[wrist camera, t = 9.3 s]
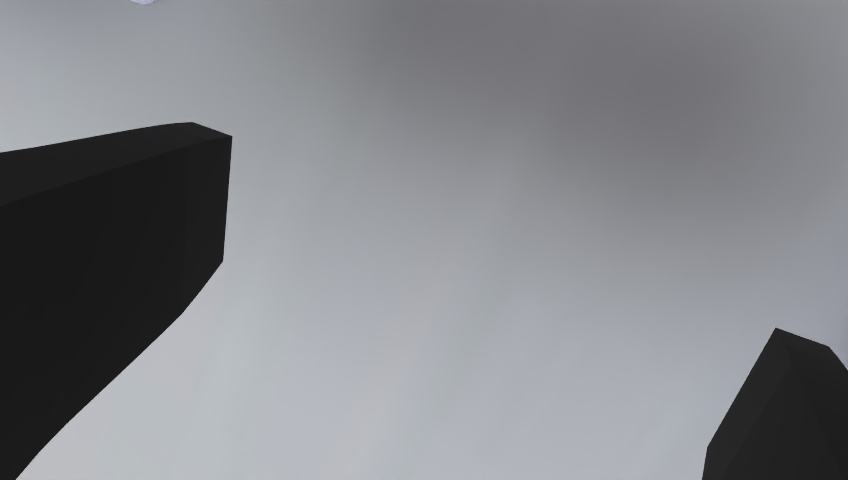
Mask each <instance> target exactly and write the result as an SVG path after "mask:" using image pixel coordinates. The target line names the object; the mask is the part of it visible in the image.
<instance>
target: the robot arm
mask: <svg viewBox="0 0 848 480" xmlns="http://www.w3.org/2000/svg"><path fill="white" fill-rule="evenodd" d="M130 1H133V2H136V3H139V4H150V3H152V2H155V1H157V0H130ZM231 147H232V136H230V135H227V134H225V133H222V132H219V131H216V130H213V129H210V128H208V127H205V126H202V125H199V124H196V123H193V122H187V123H173V124H165V125H158V126H151V127H145V128H139V129H133V130H127V131H122V132H116V133H111V134H105V135H100V136H94V137H89V138H84V139H78V140H73V141H67V142H62V143H56V144H51V145H45V146H40V147H34V148H27V149H21V150H14V151H8V152H1V153H0V480H16V479H17V477H18V476H19V475H20V474H21V473H22V472H23V470H24V469H25V468H26V467H27V466H28V465H29V463H30V462H31V461H32V460H33V459H34V458H35V456H36V455H37V454H38V453H39V452H40V451H41V450H42V449H43V448H44V446H45V445H46V444H47V443H48V442H49V441H50V440H51V439H52V438H53V437H54V436H55V435H56V434H57V433H58V432H59V431H60V430H61V429H62V428H63V427H64V426H65V425H66V424H67V423H68V422H69V421H70V420H71V419H72V418H73V417H74V416H75V415H76V414H77V413H79V412H80V411H81V410H82V409H83V408H84V407H85V406H86V405H87V404H88V403H89V402H90V401H91V400H92V399H93V398H94V397H95V396H97V395H98V394H99V393H100V392H101V391H102V390H103V389H104V388H105V387H106V386H107V385H108V384H109V383H110V382H111V381H112V380H113V379H115V378H116V377H117V376H118V375H119V374H120V373H121V372H122V371H123V370H124V369H125V368H126V367H127V366H128V365H129V364H130V363H131V362H133V361H134V360H135V359H136V358H137V357H138V356H139V355H140V354H141V353H142V352H143V351H144V350H145V349H146V348H147V347H148V346H149V345H150V344H151V343H152V342H154V341H155V340H156V339H157V338H158V337H159V336H160V335H161V334H162V333H163V332H164V331H165V330H166V329H167V328H168V327H169V326H170V325H171V324H172V323H173V322H174V321H175V320H176V319H177V318H178V317H179V316H180V315H181V314H182V313H183V312H184V311H185V309H186V308H187V307H188V306H189V304H190V303H191V302H192V301H193V300H194V298H195V297H196V296H197V295H198V293H199V292H200V291H201V290H202V288H203V287H204V286H205V284H206V283H207V282H208V280H209V279H210V278H211V276H212V275H213V274H214V272H215V271H216V270H217V268H218V267H219V266H220V264H221V263H222V262H223V254H224V241H225V227H226V214H227V201H228V187H229V174H230V161H231ZM702 480H848V370H847V369H846V367H845V366H844V365H843V363H842V362H841V361H840V360H839V358H838V357H837V356H836V355H835V353H834V352H833V351H832V350H831V349H830V347H829V346H826V345H823V344H820V343H817V342H815V341H812V340H809V339H806V338H803V337H800V336H798V335H795V334H792V333H789V332H786V331H783V330H781V329H778V328H775V330H774V331H773V333H772V335H771V337H770V338H769V340H768V342H767V344H766V345H765V347H764V349H763V351H762V352H761V354H760V356H759V358H758V359H757V361H756V363H755V365H754V366H753V368H752V370H751V372H750V373H749V375H748V377H747V379H746V380H745V382H744V384H743V386H742V387H741V389H740V391H739V393H738V394H737V396H736V398H735V400H734V401H733V403H732V405H731V407H730V408H729V410H728V412H727V414H726V415H725V417H724V419H723V421H722V422H721V424H720V426H719V428H718V429H717V431H716V433H715V435H714V436H713V438H712V440H711V442H710V443H709V445H708V447H707V453H706V459H705V465H704V471H703V477H702Z"/></svg>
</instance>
